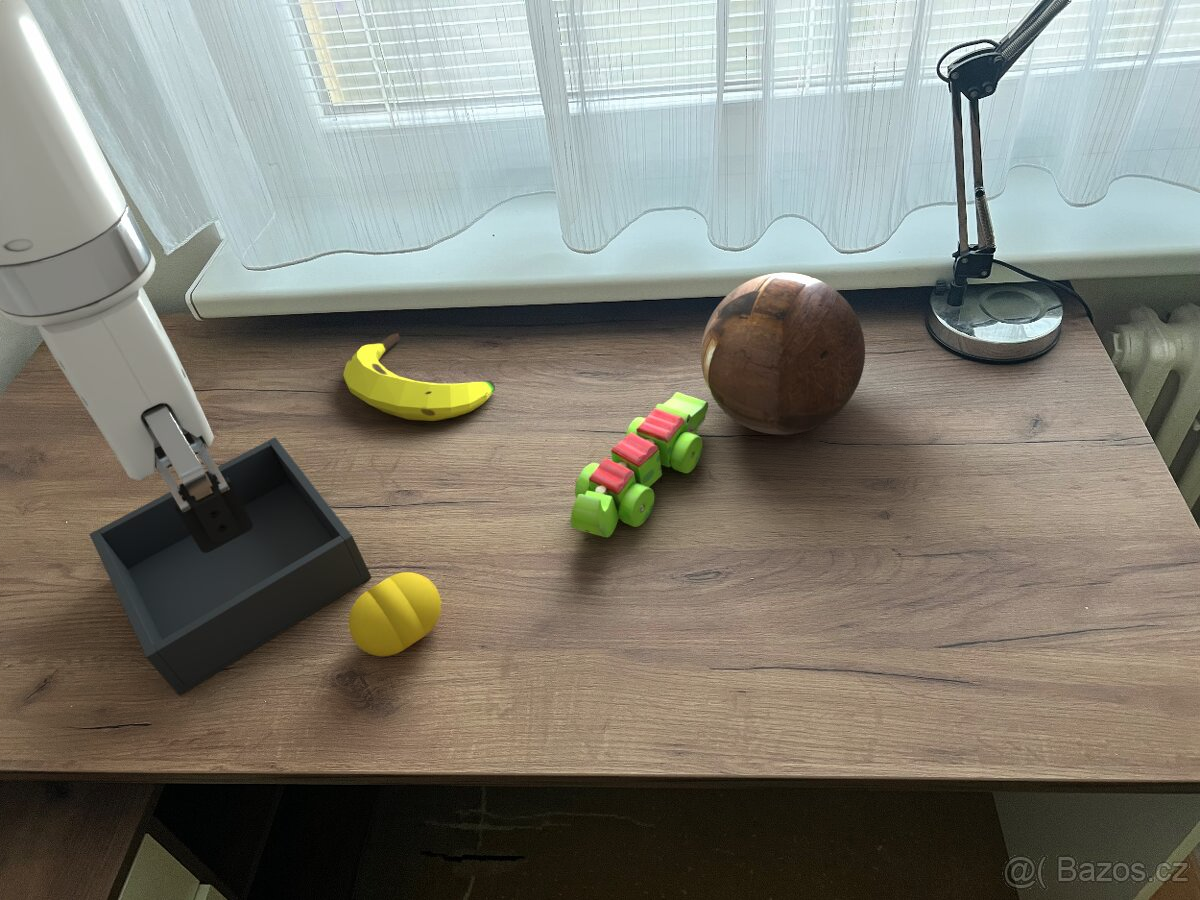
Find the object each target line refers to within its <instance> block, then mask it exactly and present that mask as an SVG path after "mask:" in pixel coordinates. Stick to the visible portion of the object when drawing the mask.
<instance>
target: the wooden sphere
mask: <svg viewBox="0 0 1200 900" xmlns="http://www.w3.org/2000/svg"><path fill="white" fill-rule="evenodd" d="M702 335H703V336H702V339H701V340H702V341H701V346H700V363H701V364H700V365H701V371H702V376H703V379H704V382H705V385H706V387H707V389H708V391H709V393H710V395H711V397H712V398H713V400H714V401H715V403H716V404H717V405H718V406H719V408H720V409H721V410H722V411H723V412H724V413H725V414H726V415H727V416H728V417H730V418H731V419H732V420H734V421H735V422H737V423H738V424H740V425H742V426H743V427H746V428H748V429H750V430H753V431H756V432H759V433H762V434H769V435H778V436H779V435H780V436H783V435H785V436H786V435H794V434H799V433H803V432H807V431H810V430H813V429H815V428H817V427H819V426H822V425H823V424H825V423H826V422H828V421H829V420H830V419H832V418H834V417H835V416H836V415H837V414H838V413H840V411H841V410H842V409H843V408H844V407H845V406H846V405H847V404H848V403H849V401H850V400H851V398H852V397H853V395H854V394H855V392H856V390H857V388H858V386H859V384H860V381H861V378H862V376H863V372H864V367H865V361H866V342H865V336H864V331H863V328H862V326H861V323H860V320H859V318H858V316H857V314H856V313H855V311H854V309H853V307H852V306H851V305H850V303H849V302H848V301H847V300H846V299H845V297H843V295H842V294H841V293H840V292H838V290H836V289H835V288H833V287H831V286H830V285H829V284H827V283H825V282H823V281H822V280H819V279H817V278H815V277H813V276H808V275H805V274H801V273H795V272H777V273H775V272H774V273H768V274H765V275H760V276H758V277H754V278H751V279H750V280H747V281H746V282H744V283H741V284H740V285H739V286H738V287H737V286H736V287H735V289H733V290H732V291H731V292H729V294H727V295H726V296H725V297H724V298H723V299H722V301H720V302H719V304H718V305H717V306H716V307H715V309H714V311H713V312H712V314H711V316H710V318H709V319H708V321H707V323H706V326H705V329H704V332H703V334H702Z"/></svg>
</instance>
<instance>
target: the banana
mask: <svg viewBox="0 0 1200 900" xmlns="http://www.w3.org/2000/svg"><path fill="white" fill-rule="evenodd" d="M400 339H401V338H400V334H399V333H398V332H397V333H393V334H390V335H388V336H387V337H385V338H383V339H382V340H381V341H380V342H379V343H371V344H369V343H368V344H365V345H362V346H361V347H360V348H358V350H357V351H356V352H355V353H354V354H353V355H352V356H351V358H350V359H349V360H348V361H347V362H346V363H345V366H344V369H343V380H344V382H345V384H346V386H347V388H348V390H349V392H350V393H351V394H352V395H354V396H356V397H357V398H358V399H360V400H361V401H364V402H365V403H367V404H368V405H369V406H371V407H373V408H375V409H378V410H379V411H381V412H382V413H386V414H389V415H391V416H395V417H398V418H402V419H405V420H410V421H426V422H435V421H442V420H447V419H452V418H456V417H460V416H462V415H466V414H468V413H471V412H472V411H475V410H476V409H478V408H479V407H480V406H483V405H484V404H485V403H486V401H487V400H489V398H490V397H491V395H493V393H494V392H495V391H496V385H495V382H493V381H492V380H487V381H471V382H459V383H437V382H436V383H435V382H427V381H419V380H414V379H411V378H406V377H403V376H400V375H397V374H395V373H394V372H392V371H390V370H388V369H387V368H386V367H385V366H384V365H383V364H381V362H380V359H381V357H382V356H383V355H384V353H386V352H387V351H389V350H390V349H391V348H392V347H394V346H395V345H396V344H397V343H398V342H399V341H400Z"/></svg>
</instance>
